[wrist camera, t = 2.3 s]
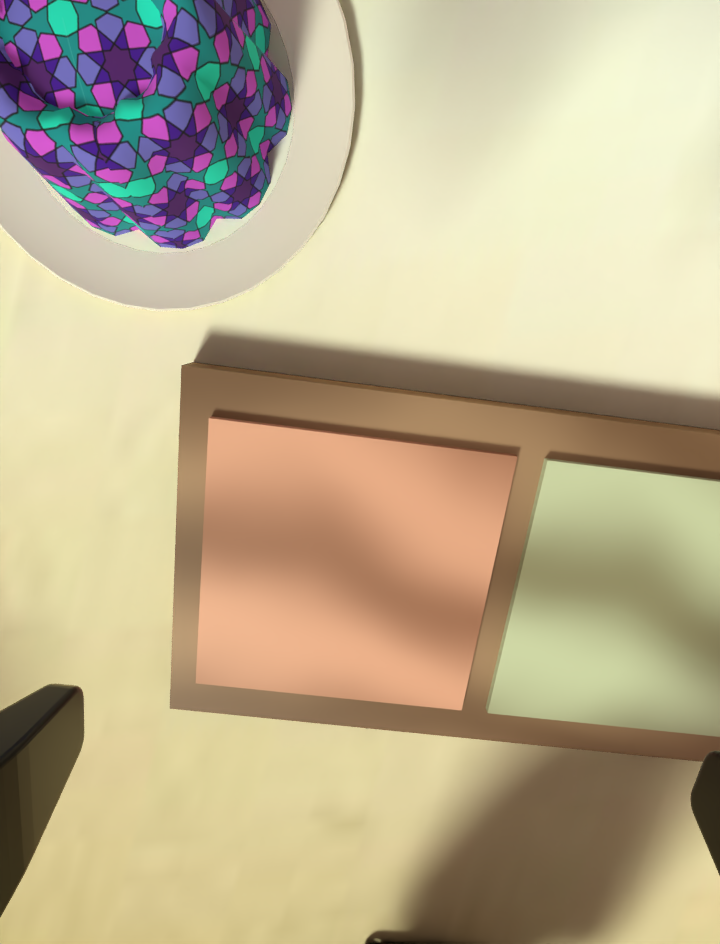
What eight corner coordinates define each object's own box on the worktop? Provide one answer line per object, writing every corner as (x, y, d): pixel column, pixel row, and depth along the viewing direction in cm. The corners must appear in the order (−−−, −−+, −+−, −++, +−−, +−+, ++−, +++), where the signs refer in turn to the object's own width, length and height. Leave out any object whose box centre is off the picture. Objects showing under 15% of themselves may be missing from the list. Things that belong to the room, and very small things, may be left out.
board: (727, 743, 22) (752, 772, 21) (179, 687, 21) (167, 714, 20) (844, 446, 19) (885, 457, 17) (192, 362, 18) (178, 366, 16)
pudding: (22, 333, 18) (-109, 341, 13) (-113, -119, 14) (-363, -352, 9) (377, 286, 18) (385, 274, 12) (324, -189, 14) (307, -466, 9)
